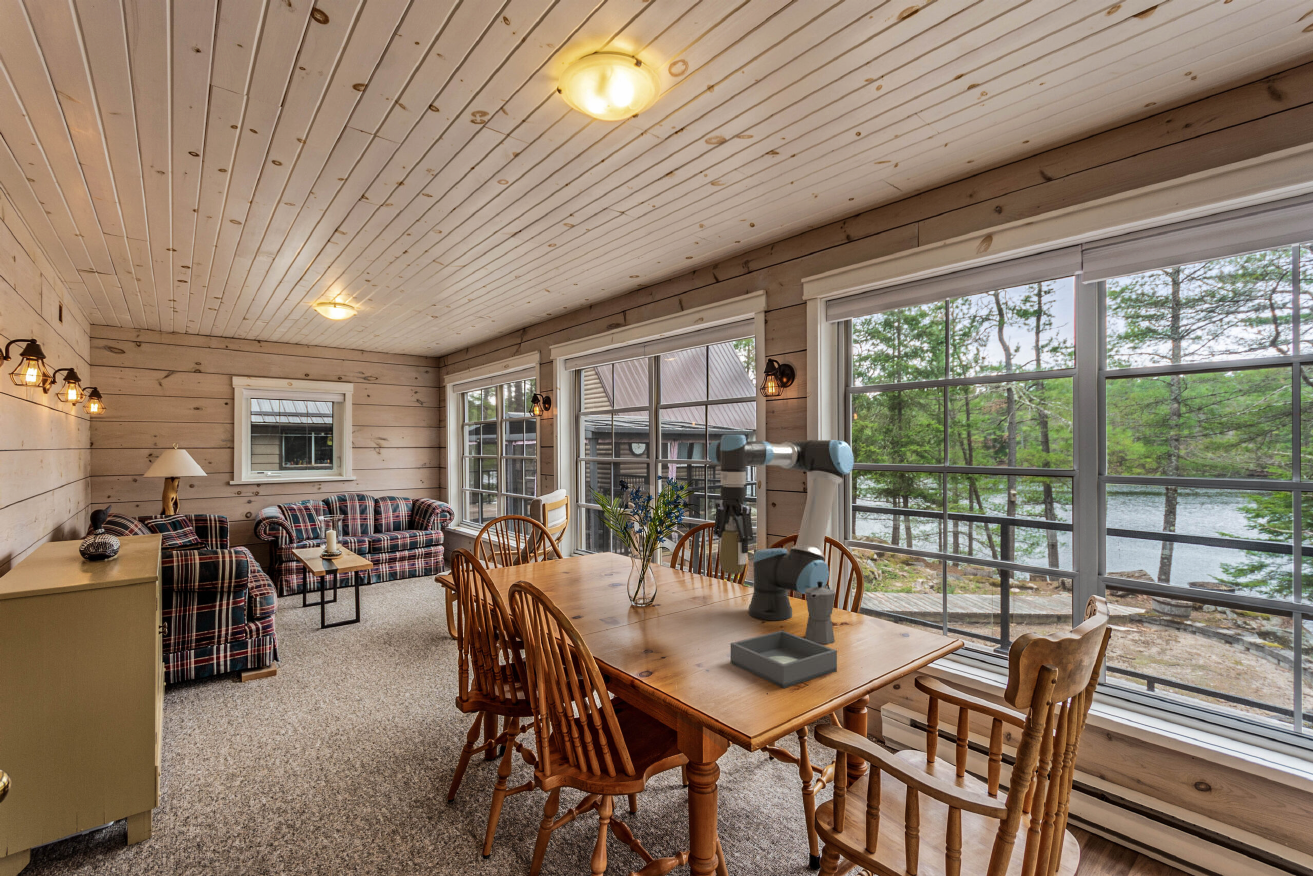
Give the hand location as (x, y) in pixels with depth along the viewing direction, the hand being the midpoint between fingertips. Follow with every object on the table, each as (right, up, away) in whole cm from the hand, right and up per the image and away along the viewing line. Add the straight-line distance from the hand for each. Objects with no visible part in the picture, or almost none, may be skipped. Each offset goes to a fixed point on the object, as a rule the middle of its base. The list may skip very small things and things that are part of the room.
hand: (732, 561), depth 178 cm
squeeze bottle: (0, -3, 0) cm, 3 cm away
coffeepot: (+28, -26, +6) cm, 39 cm away
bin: (+11, -25, -17) cm, 33 cm away
